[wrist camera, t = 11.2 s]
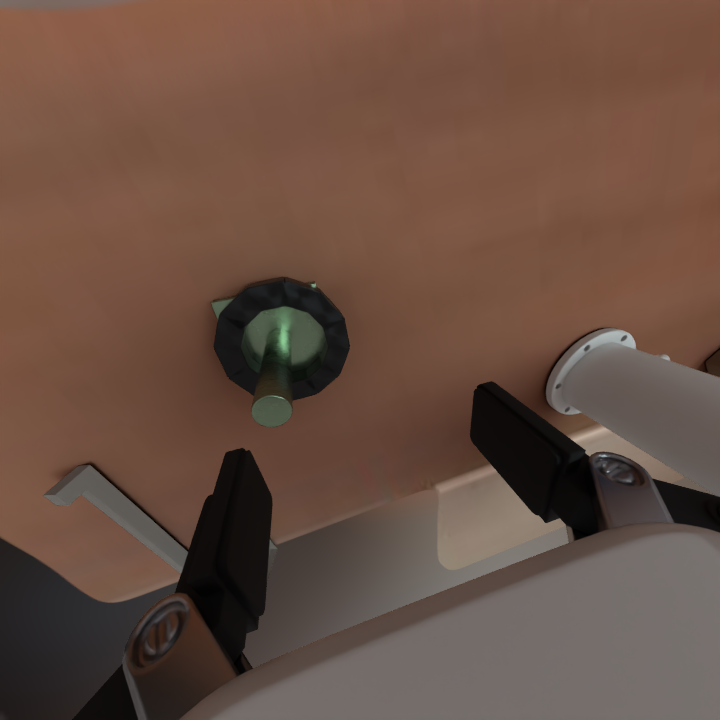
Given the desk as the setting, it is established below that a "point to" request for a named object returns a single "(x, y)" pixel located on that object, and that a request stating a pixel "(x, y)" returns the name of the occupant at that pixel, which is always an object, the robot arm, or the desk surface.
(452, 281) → the desk surface
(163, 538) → the toilet paper hanger
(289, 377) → the post
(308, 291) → the black ring
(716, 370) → the wooden block
